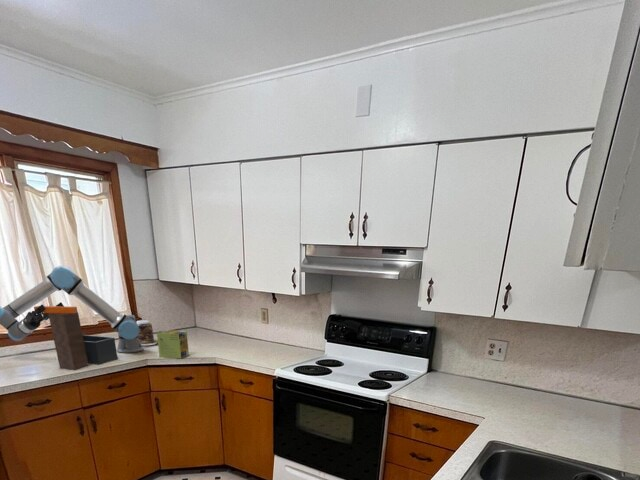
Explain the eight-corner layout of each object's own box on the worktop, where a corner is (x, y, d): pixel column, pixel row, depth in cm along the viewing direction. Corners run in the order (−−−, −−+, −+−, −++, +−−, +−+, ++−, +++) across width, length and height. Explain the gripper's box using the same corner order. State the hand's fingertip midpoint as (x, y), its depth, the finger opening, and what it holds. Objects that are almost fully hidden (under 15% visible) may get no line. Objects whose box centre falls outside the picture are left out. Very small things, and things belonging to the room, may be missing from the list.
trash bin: (65, 361, 254) (61, 339, 248) (85, 355, 267) (81, 334, 262) (99, 364, 248) (95, 342, 243) (117, 358, 262) (114, 337, 257)
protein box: (181, 358, 267) (178, 333, 261) (159, 356, 270) (156, 332, 264) (189, 355, 277) (187, 331, 271) (167, 353, 280) (165, 329, 274)
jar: (140, 340, 317) (137, 319, 311) (156, 340, 317) (153, 320, 311) (134, 343, 306) (131, 322, 300) (150, 343, 306) (147, 322, 300)
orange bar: (35, 312, 227) (33, 306, 226) (39, 311, 231) (38, 305, 230) (73, 313, 229) (72, 307, 227) (77, 312, 233) (76, 306, 232)
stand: (60, 368, 238) (47, 313, 226) (74, 364, 247) (63, 311, 235) (74, 370, 236) (63, 314, 224) (88, 365, 245) (78, 312, 233)
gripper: (51, 326, 250) (74, 309, 241) (14, 333, 228) (38, 314, 220) (43, 315, 248) (66, 297, 239) (6, 320, 227) (29, 301, 218)
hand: (53, 305), depth 230 cm, fingers open, 11 cm apart
